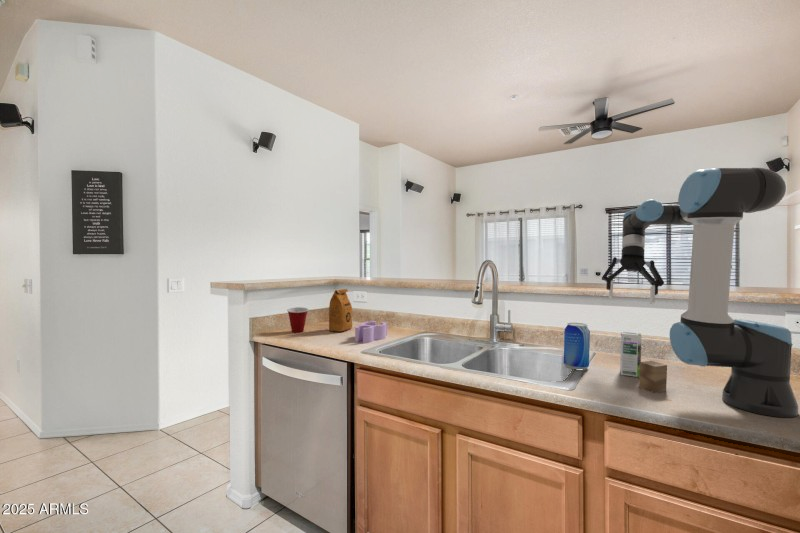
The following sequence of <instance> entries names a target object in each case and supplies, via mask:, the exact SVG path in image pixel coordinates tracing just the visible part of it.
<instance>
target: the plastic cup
mask: <svg viewBox="0 0 800 533" xmlns="http://www.w3.org/2000/svg"><path fill="white" fill-rule="evenodd" d="M286 311H287V314H288V317H289V325H290V328H291V329H290V330H291V333H294V334H295V333H296V334H298V333H304V329H305V325H306V320H307V315H308V311H309V308H307V307H301V306H300V307H299V306H298V307H297V306H296V307H290V308H288V309H286Z"/></svg>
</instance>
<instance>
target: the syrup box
mask: <svg viewBox="0 0 800 533" xmlns="http://www.w3.org/2000/svg"><path fill="white" fill-rule="evenodd" d="M640 362H642V335H641V333H640V332H632V331H623V330H622V331H621V332H620V364H619V365H620V375H621V376H628V377H635V378H639V374H640Z"/></svg>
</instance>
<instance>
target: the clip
mask: <svg viewBox="0 0 800 533" xmlns="http://www.w3.org/2000/svg"><path fill="white" fill-rule="evenodd" d="M354 329H355V331H354V343H359V342H360V341H362V343H363V344H369V343H372V342H374V341H381V340H385V339H387V336H388V322H387V321H381V322H380V324H378V325H377V321H376V320H372V321H364V322H360V325H356V326H355V327H354Z"/></svg>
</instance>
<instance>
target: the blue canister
mask: <svg viewBox="0 0 800 533" xmlns="http://www.w3.org/2000/svg"><path fill="white" fill-rule="evenodd" d="M590 338H591V331H590V329H589V327H588V324H586V323H583V322H582V323H580V322H567V324H566V326H565V328H564V339H563V364H564V365H565V368H567V369H570V370H574V369H583V370H582V371H586V370H587V369H588V368H589V367H590V342H591V339H590Z"/></svg>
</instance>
